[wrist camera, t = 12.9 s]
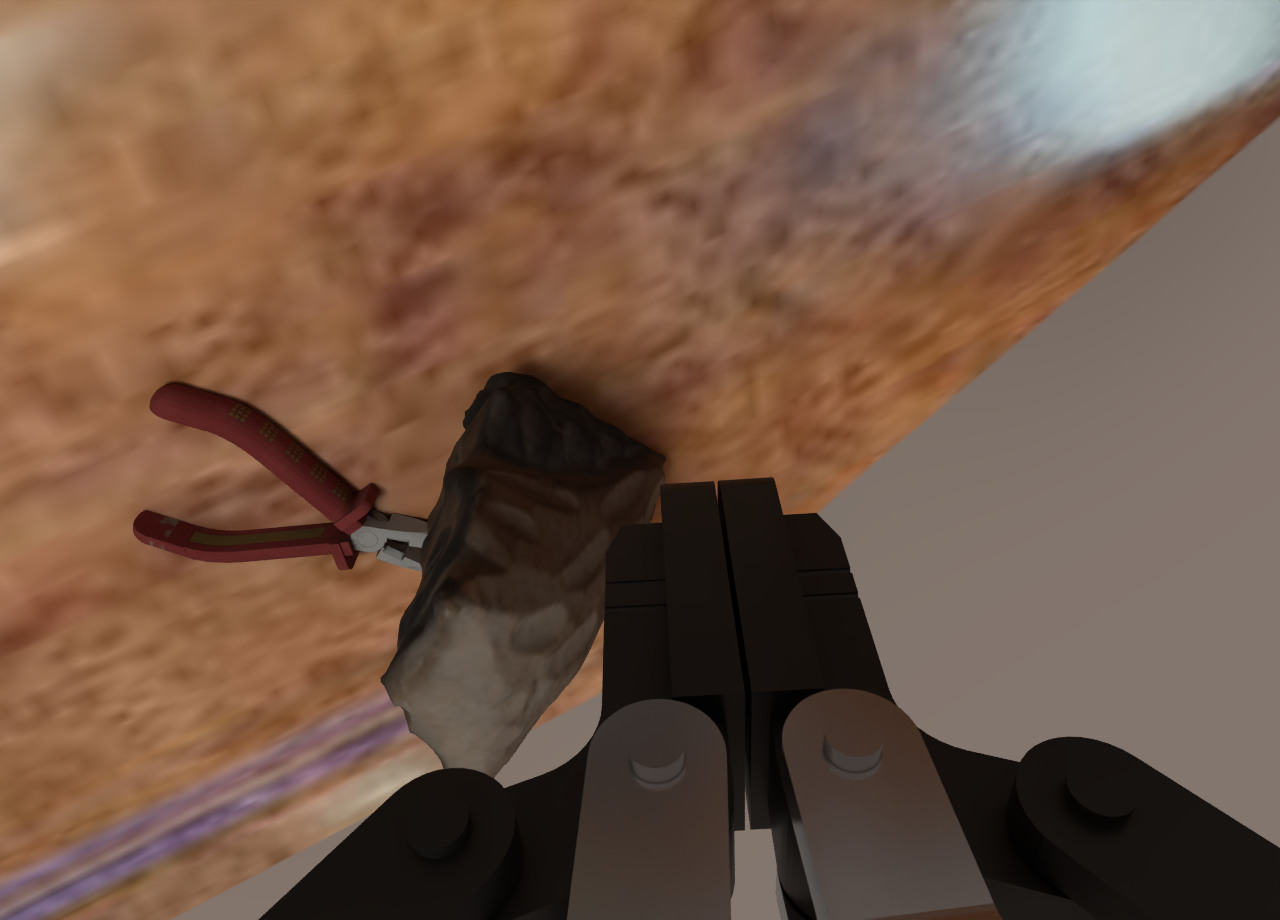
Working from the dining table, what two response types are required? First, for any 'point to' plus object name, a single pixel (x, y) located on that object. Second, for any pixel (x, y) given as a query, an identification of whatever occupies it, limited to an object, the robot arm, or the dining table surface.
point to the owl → (514, 568)
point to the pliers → (300, 472)
